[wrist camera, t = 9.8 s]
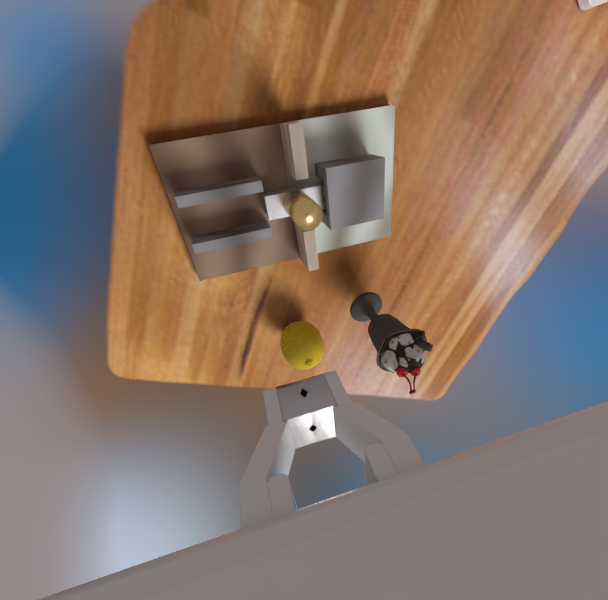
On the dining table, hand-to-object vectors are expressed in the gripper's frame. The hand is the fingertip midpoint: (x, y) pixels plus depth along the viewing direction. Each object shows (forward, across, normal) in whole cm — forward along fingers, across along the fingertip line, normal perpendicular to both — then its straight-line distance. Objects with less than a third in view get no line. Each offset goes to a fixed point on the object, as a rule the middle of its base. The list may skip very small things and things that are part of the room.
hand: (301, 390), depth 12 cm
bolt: (+24, -8, -1) cm, 25 cm away
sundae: (+26, -14, +16) cm, 34 cm away
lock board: (+25, -5, -1) cm, 26 cm away
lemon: (+25, -3, +17) cm, 31 cm away
